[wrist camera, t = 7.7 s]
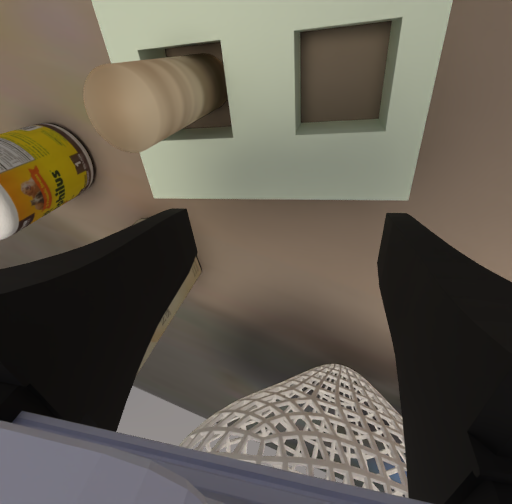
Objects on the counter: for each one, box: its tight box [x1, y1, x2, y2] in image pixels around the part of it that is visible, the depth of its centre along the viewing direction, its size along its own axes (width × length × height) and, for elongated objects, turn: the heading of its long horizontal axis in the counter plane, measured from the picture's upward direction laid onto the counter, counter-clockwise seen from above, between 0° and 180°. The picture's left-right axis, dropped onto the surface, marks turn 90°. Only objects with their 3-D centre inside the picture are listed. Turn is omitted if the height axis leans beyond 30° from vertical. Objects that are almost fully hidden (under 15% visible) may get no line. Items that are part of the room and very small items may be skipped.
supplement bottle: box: [0, 124, 93, 240], centre depth 19 cm, size 6×6×10 cm
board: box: [91, 0, 453, 200], centre depth 16 cm, size 16×12×3 cm
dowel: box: [83, 54, 228, 153], centre depth 14 cm, size 3×3×9 cm
